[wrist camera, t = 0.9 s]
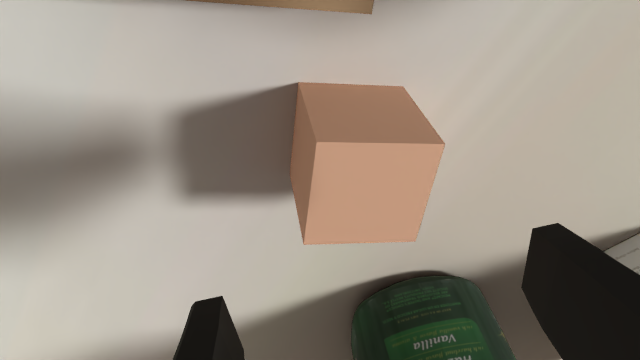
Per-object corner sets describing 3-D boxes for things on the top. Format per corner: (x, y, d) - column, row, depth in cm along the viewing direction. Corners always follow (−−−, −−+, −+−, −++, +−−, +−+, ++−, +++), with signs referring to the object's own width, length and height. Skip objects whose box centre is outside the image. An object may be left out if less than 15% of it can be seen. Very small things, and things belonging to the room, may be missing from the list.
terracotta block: (402, 85, 19) (444, 144, 15) (382, 173, 21) (415, 241, 17) (298, 81, 18) (316, 142, 14) (289, 173, 20) (303, 244, 17)
